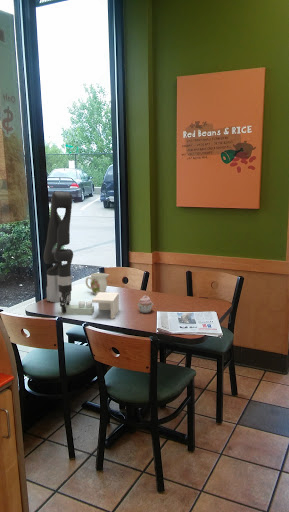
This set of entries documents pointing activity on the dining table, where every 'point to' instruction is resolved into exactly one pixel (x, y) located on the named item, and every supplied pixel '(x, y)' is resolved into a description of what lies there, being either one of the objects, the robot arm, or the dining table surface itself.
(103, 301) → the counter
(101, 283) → the pitcher
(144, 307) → the cupcake
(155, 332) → the dining table surface
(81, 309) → the caddy
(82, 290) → the dining table surface
